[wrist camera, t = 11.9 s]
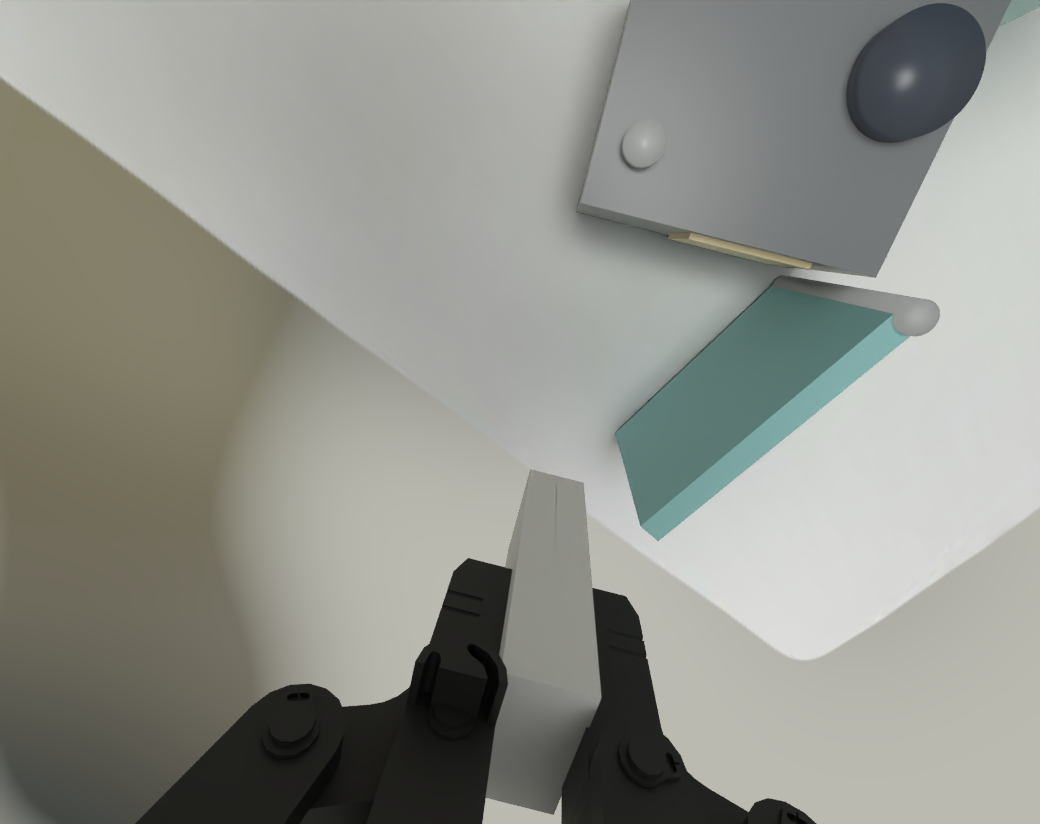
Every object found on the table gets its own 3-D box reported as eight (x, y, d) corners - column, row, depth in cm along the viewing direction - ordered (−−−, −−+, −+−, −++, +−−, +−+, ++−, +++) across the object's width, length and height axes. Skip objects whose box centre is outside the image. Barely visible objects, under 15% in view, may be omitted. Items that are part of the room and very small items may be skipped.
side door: (785, 270, 29) (925, 291, 18) (801, 288, 30) (949, 319, 18) (614, 431, 34) (640, 529, 22) (630, 445, 34) (663, 548, 23)
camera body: (629, 4, 26) (661, -111, 17) (881, 67, 26) (1036, -16, 17) (574, 216, 30) (579, 208, 21) (794, 272, 30) (886, 286, 21)
